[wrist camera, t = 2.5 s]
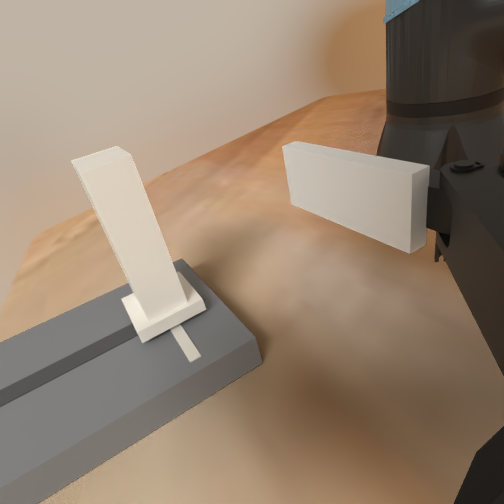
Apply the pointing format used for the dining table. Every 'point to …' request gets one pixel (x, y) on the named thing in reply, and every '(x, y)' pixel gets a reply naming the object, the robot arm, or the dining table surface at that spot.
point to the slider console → (106, 385)
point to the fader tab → (137, 243)
